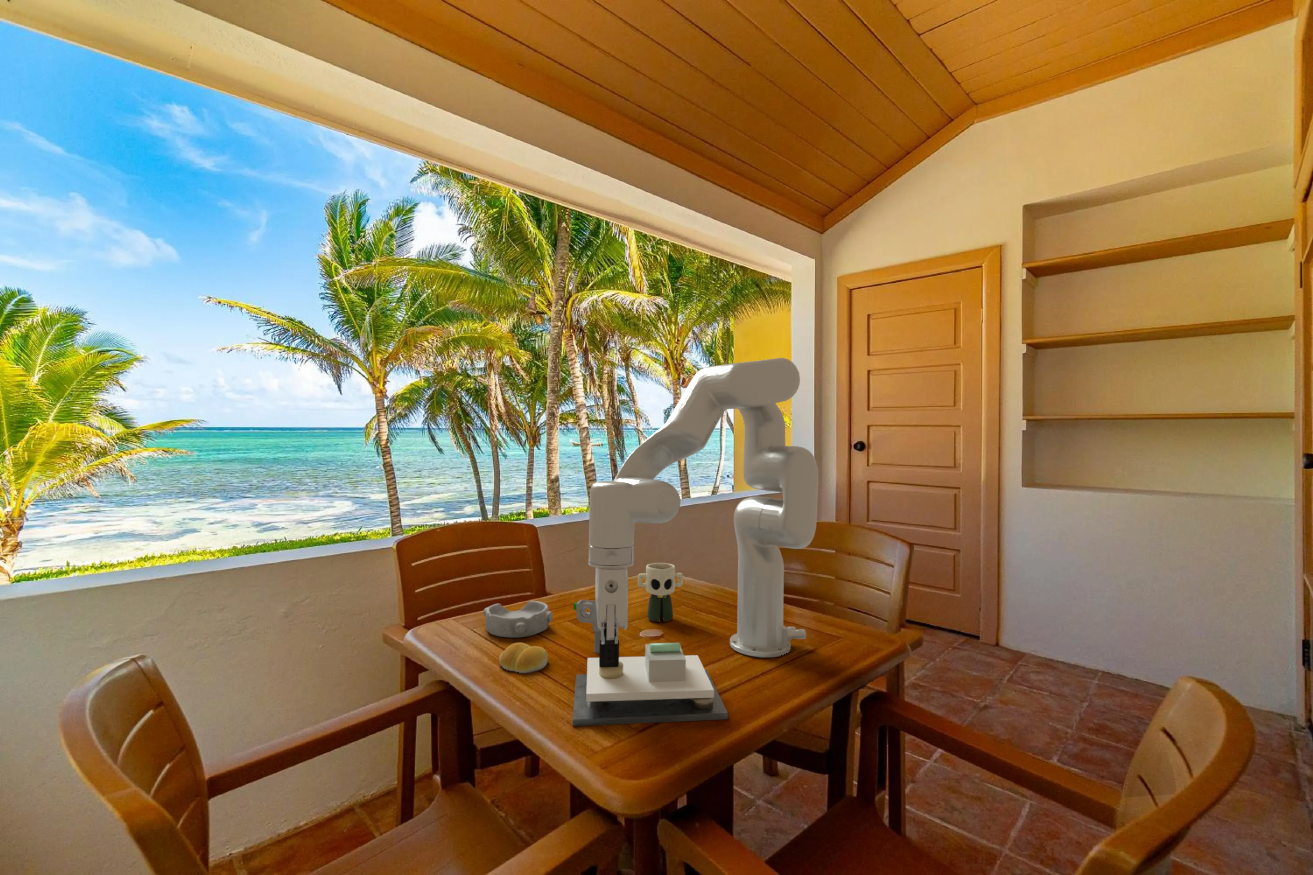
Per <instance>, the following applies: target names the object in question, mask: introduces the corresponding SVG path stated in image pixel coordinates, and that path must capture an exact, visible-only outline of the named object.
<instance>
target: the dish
mask: <svg viewBox="0 0 1313 875" xmlns="http://www.w3.org/2000/svg"><path fill="white" fill-rule="evenodd" d="M483 615H484V617H485V619H484V620H485V628H486V630H487V632H488V633H489V634H491V635H493V636H496V637H501V638H502V637H503V638H513V639H514V638H525V637H530V636H534V635H537V634H539V633H541V632H544V631H545V630H547V629H548V627H549V624H550V623H551V622H552V621H553V617H554V616H553V612H552V611H550V609H549V606H548V604H547V603H545V602H542V601H539V600H537V601H536V600H528V601H527V603H526V604H525V605H524V606H523V607H522V608H520V609H518V610H508V609H507V608H506V607H504V606H502V604H501V603H494V604H492V605H490V606H488V607H485V608H484V609H483Z"/></svg>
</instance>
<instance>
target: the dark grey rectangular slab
mask: <svg viewBox="0 0 1313 875" xmlns="http://www.w3.org/2000/svg"><path fill="white" fill-rule="evenodd" d="M704 670H705V672H706V674H707V676H708V678H709V680H710V682H711V685H712V687H713V689H714V698H685V699H654V700H623V701H593V702H586V690H587V673H586V674H585V673H584V674H576V676H575V686H574V687H575V688H574V697H573V700H574V701H573V708H572V709H573V711H572V727H583V726H584V727H586V726H608V725H629V724H631V725H632V724H633V725H634V724H651V723H652V724H653V723H670V722H671V723H673V722H674V723H676V722H694V721H695V722H699V721H716V720H718V721H719V720H728V716H729V714H728V710H727V709H726V707H725V704H724V702H723V700H722V698H721V696H720V694H719V692H718V690H717V687H716V686H715V684H714V681H713V679H712V677H711V675H710V674H709V670H708V669H704Z"/></svg>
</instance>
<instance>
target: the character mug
mask: <svg viewBox="0 0 1313 875" xmlns="http://www.w3.org/2000/svg"><path fill="white" fill-rule="evenodd" d="M643 578H645V582H643ZM676 578H678V582H676ZM637 584H638V585H637V586H638V588H645V590H646V592H647V593H649V594H650V596H649V601H648V606H647V607H648V608H647V615H646V616H647V618H648V620H650V621H653V622H660V621H661V619H663V622H668V621H669V622H670V621H671V620H672V619H673V618H674V612H673V611H674V610H673V601H672V597H671V594H674V592H675V590H676V588H677V587H683V584H684V575H683V573H682V572H676V565H674V564H673V563H666V562H653V563H648V564H646V566H645V573H644V572H643V573H638V576H637Z"/></svg>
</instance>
